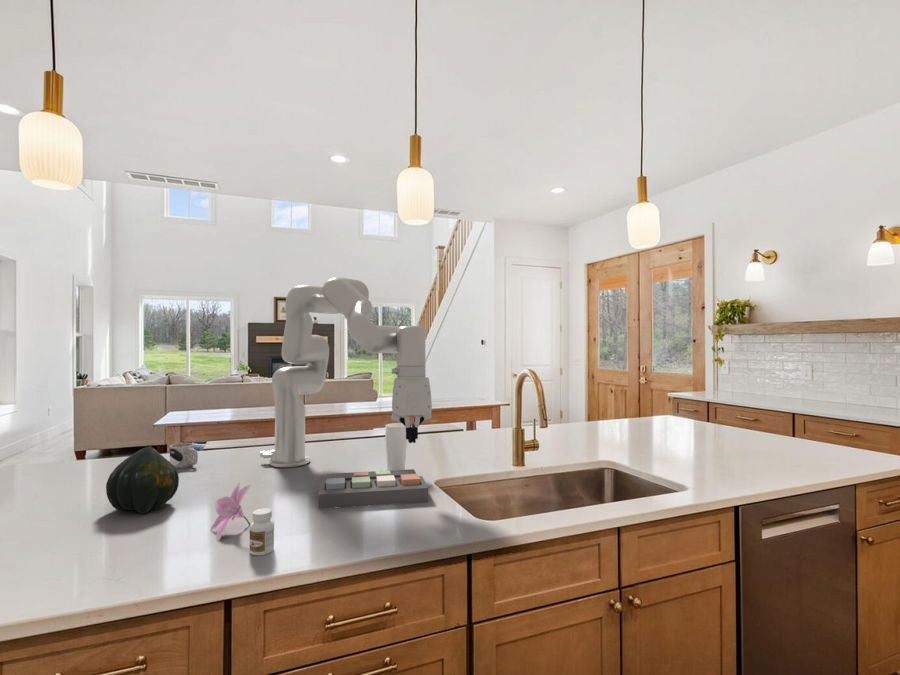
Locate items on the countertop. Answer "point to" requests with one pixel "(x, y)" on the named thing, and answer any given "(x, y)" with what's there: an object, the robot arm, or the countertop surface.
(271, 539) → the pill bottle
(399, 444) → the drinking glass
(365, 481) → the sage key
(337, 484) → the slate key
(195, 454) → the mug
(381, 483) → the cream key
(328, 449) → the countertop surface
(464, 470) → the countertop surface
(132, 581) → the countertop surface
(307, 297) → the robot arm
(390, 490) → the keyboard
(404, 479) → the terracotta key
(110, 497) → the squash
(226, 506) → the lily
